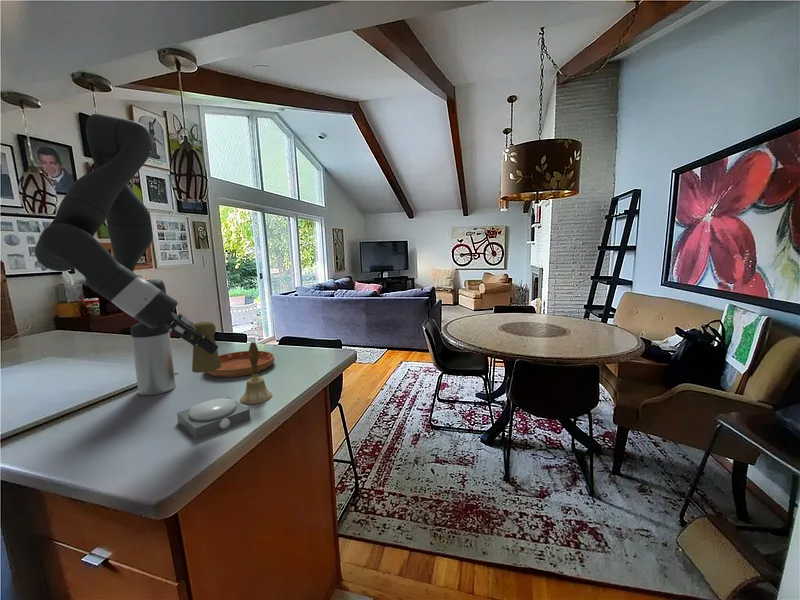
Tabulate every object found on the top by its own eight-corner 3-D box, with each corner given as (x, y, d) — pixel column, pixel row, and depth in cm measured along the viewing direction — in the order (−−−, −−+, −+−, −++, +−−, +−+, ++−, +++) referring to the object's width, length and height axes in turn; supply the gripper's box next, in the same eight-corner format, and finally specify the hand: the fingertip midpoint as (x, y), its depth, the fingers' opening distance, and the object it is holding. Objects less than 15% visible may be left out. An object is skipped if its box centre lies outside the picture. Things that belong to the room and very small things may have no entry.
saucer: (252, 355, 139) (251, 346, 139) (287, 365, 126) (287, 355, 125) (191, 372, 121) (190, 362, 120) (225, 385, 107) (224, 374, 107)
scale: (178, 422, 83) (176, 408, 83) (229, 405, 92) (228, 393, 92) (197, 439, 75) (195, 424, 75) (251, 419, 84) (250, 405, 84)
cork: (200, 374, 78) (195, 325, 76) (186, 369, 81) (181, 323, 79) (226, 366, 83) (222, 321, 81) (212, 362, 86) (208, 319, 84)
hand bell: (274, 391, 102) (270, 338, 99) (269, 403, 93) (264, 345, 91) (244, 393, 100) (240, 339, 98) (236, 406, 92) (231, 347, 90)
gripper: (158, 291, 69) (230, 341, 77) (160, 286, 81) (222, 330, 89) (128, 321, 67) (205, 369, 75) (134, 311, 79) (200, 353, 87)
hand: (214, 347), depth 82 cm, fingers closed on cork, 4 cm apart
